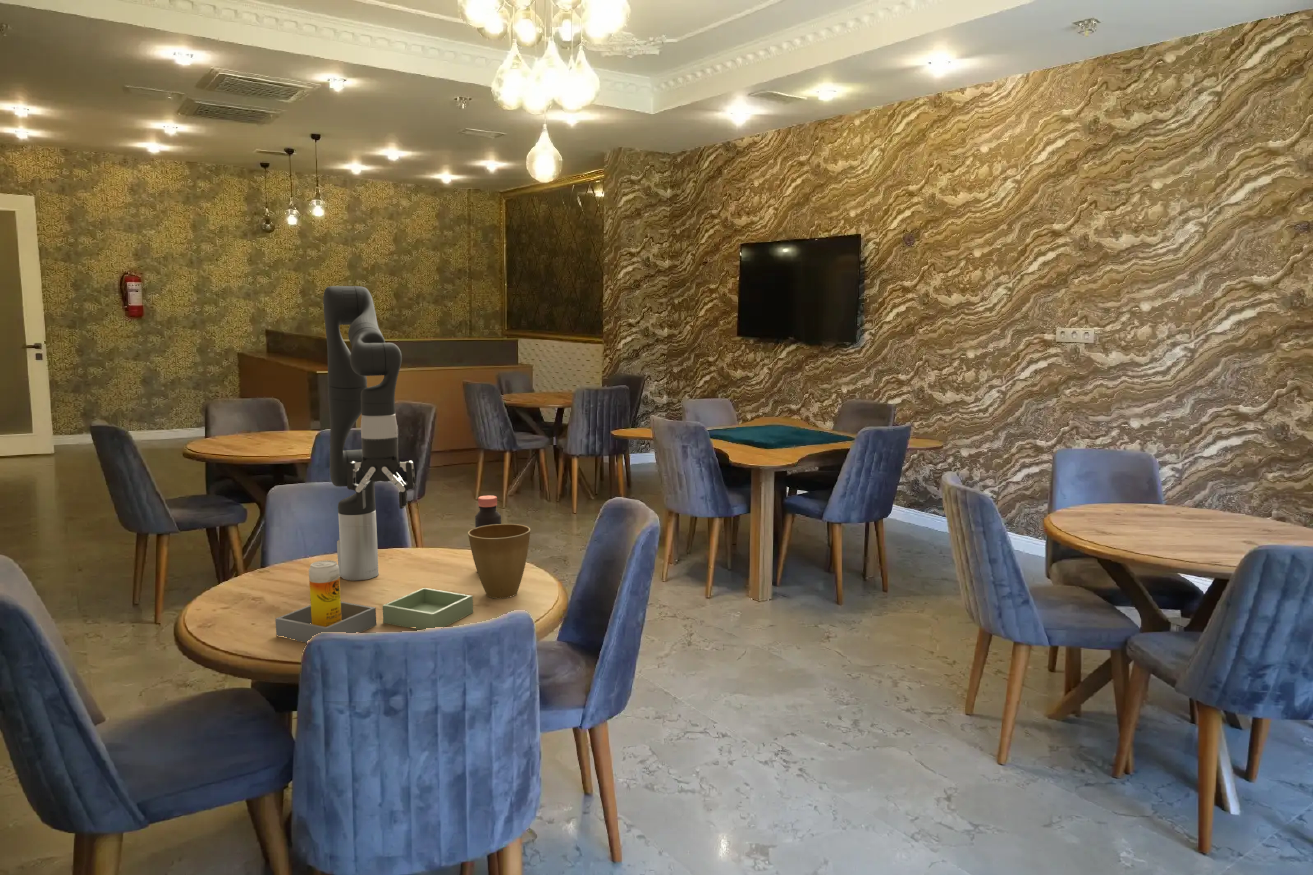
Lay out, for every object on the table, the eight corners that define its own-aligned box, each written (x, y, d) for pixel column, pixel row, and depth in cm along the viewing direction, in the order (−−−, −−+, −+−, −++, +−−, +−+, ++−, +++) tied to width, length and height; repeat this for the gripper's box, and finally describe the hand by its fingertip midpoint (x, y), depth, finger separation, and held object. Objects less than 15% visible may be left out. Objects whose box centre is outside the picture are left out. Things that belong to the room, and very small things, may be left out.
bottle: (472, 573, 235) (470, 499, 232) (483, 566, 242) (481, 494, 239) (496, 575, 234) (494, 500, 231) (506, 568, 240) (504, 495, 237)
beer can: (332, 636, 190) (328, 568, 187) (306, 634, 191) (302, 566, 189) (347, 627, 195) (344, 560, 193) (322, 625, 197) (318, 559, 195)
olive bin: (383, 622, 198) (382, 605, 198) (424, 604, 211) (423, 587, 210) (433, 632, 192) (433, 614, 192) (473, 612, 205) (472, 595, 204)
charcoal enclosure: (276, 636, 190) (275, 618, 189) (327, 615, 203) (326, 598, 202) (327, 647, 184) (326, 628, 183) (376, 625, 197) (375, 607, 196)
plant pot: (534, 584, 226) (533, 522, 224) (528, 603, 211) (526, 537, 209) (475, 585, 225) (473, 523, 223) (464, 604, 211) (462, 538, 208)
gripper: (340, 437, 190) (344, 512, 192) (408, 437, 190) (411, 511, 193) (351, 433, 197) (354, 505, 199) (416, 432, 198) (419, 504, 200)
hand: (382, 508), depth 196 cm, fingers open, 8 cm apart
